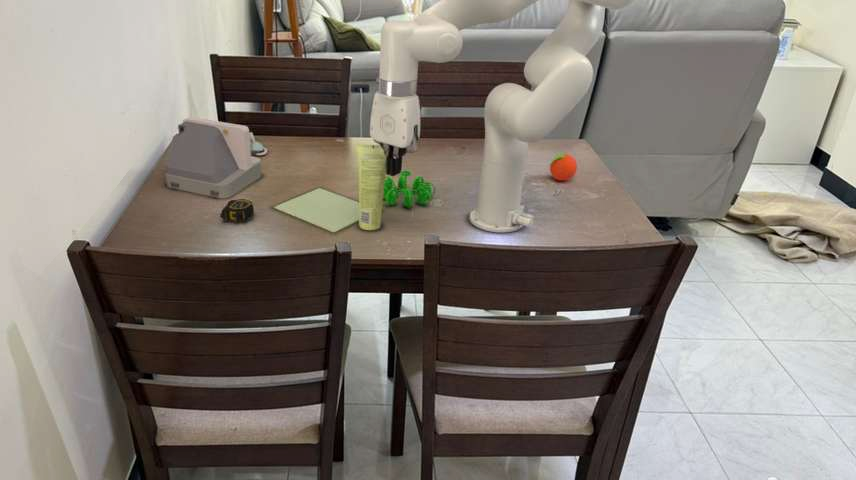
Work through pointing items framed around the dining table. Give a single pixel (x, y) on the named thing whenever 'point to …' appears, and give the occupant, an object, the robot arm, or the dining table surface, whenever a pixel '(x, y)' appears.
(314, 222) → the mat
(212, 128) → the instant camera
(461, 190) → the dining table surface
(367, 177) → the tube
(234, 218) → the tape measure
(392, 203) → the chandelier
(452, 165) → the dining table surface
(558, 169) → the clementine
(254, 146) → the pacifier
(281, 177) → the dining table surface
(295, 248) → the dining table surface
